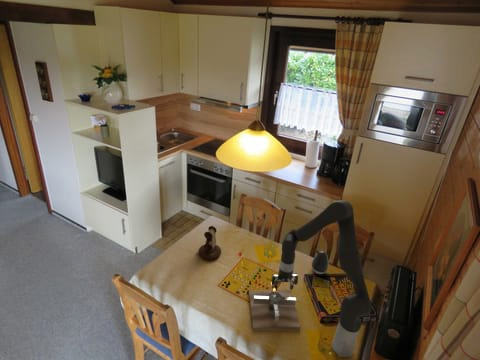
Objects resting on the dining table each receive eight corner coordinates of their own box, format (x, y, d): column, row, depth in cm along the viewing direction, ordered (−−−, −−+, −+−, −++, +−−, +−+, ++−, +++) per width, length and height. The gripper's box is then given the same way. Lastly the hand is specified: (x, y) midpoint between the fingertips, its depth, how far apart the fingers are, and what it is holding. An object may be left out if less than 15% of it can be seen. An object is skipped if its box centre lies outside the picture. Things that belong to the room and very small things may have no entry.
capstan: (297, 326, 154) (299, 315, 150) (253, 324, 153) (255, 313, 149) (290, 292, 173) (292, 281, 170) (252, 290, 172) (253, 279, 169)
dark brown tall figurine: (216, 264, 193) (217, 238, 184) (194, 257, 197) (194, 232, 188) (224, 249, 206) (225, 225, 197) (204, 244, 209) (204, 220, 200)
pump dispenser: (314, 262, 200) (319, 244, 193) (329, 270, 194) (334, 251, 188) (307, 270, 193) (311, 252, 186) (322, 279, 187) (327, 260, 180)
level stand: (300, 330, 154) (300, 327, 153) (252, 330, 152) (253, 327, 151) (290, 292, 176) (290, 290, 175) (248, 292, 174) (249, 290, 173)
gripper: (298, 261, 167) (294, 283, 174) (272, 262, 165) (269, 284, 173) (301, 271, 160) (297, 294, 167) (274, 272, 159) (271, 294, 166)
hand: (283, 289), depth 170 cm, fingers open, 8 cm apart
